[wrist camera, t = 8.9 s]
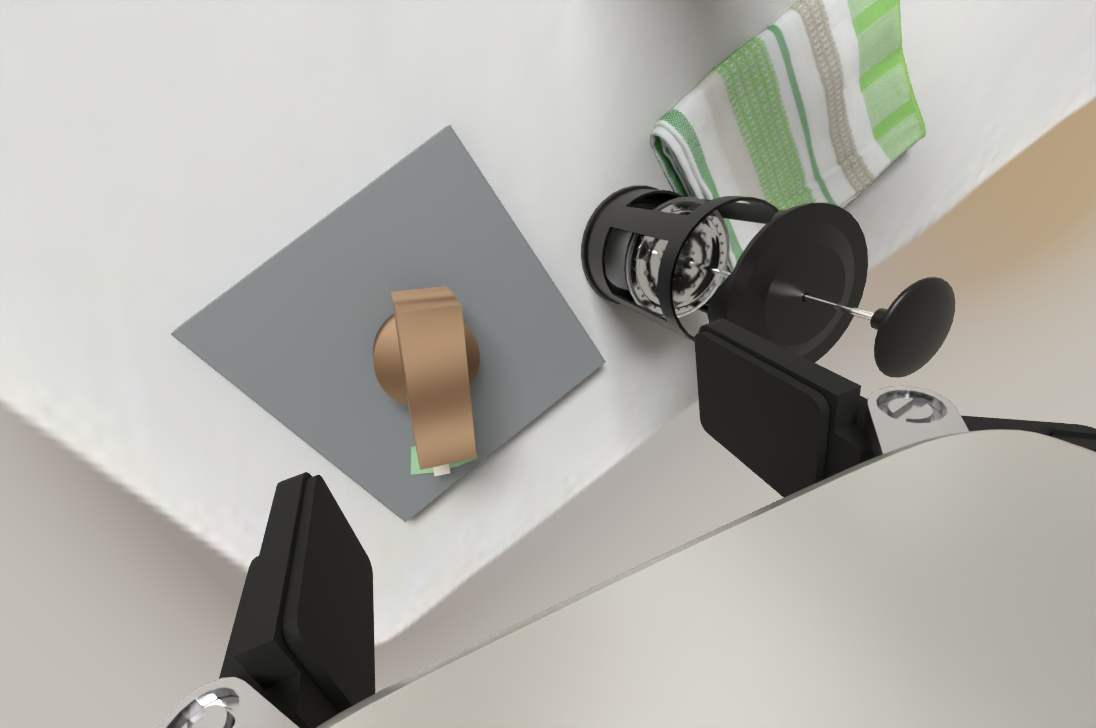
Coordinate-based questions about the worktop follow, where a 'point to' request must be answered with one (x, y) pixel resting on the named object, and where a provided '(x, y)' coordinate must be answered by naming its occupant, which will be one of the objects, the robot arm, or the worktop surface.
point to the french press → (761, 274)
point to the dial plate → (365, 304)
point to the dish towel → (796, 113)
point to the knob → (430, 372)
